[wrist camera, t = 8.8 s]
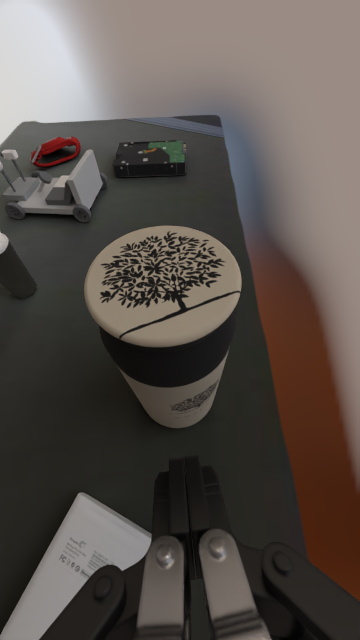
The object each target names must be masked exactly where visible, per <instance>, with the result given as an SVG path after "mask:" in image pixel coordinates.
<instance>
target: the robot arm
mask: <svg viewBox="0 0 360 640" xmlns="http://www.w3.org/2000/svg"><path fill="white" fill-rule="evenodd" d="M185 468H186V476H185ZM186 479H187V484H186ZM187 489H188V494H187ZM188 500H189V504H188ZM189 510H190V515H189ZM190 521H191V526H190ZM191 532H192V537H191ZM192 540H193V548H194V557H195V565H196V574H197V579H201V578H202V582H203V591H204V599H205V608H206V614H207V620H208V626H209V631H210V637H211V640H271V639H272V640H360V601H358V600H357V599H356V598H354V597H353V596H352V595H351V594H349V593H348V592H347V591H346V590H344V589H343V588H342V587H341V586H339V585H338V584H337V583H336V582H334V581H333V580H332V579H330V578H329V577H328V576H327V575H326V574H324V573H323V572H322V571H320V570H319V569H318V568H317V567H315V566H314V565H313V564H312V563H310V562H309V561H308V560H307V559H305V558H304V557H303V556H302V555H300V554H299V553H298V552H297V551H295V550H294V549H293V548H291V547H290V546H288V545H286V544H284V543H281V542H272V543H270V544H268V545H267V546H266V547H265V548H264V549H263V550H259V549H255V548H251V547H248V546H246V545H244V544H242V543H241V542H239V541H238V540H237V539H236V538H235V536H234V535H233V533H232V531H231V529H230V526H229V522H228V517H227V513H226V509H225V505H224V501H223V497H222V493H221V489H220V485H219V481H218V476H217V473H216V472H215V471H214V469H213V468H212V467H211V466H205V467H200V461H199V455H197V456H189V457H185V467H184V459H183V457H182V458H175V459H169V471H167V472H160V473H159V475H158V477H157V479H156V481H155V486H154V504H153V522H152V538H151V544H150V547H149V549H148V551H147V553H146V554H145V555H144V557H143V558H142V559H141V560H140V561H138V562H137V563H135V564H134V565H132V566H130V567H128V568H127V569H125V570H123V571H122V570H121V569H120V568H119V567H117V566H115V565H105V566H103V567H101V568H99V569H98V570H96V571H95V572H94V573H93V574H92V575H91V576H90V578H89V579H88V580H87V581H86V582H85V584H84V585H83V586H82V587H81V589H80V590H79V591H78V592H77V594H76V595H75V596H74V597H73V598H72V600H71V601H70V602H69V603H68V605H67V606H66V607H65V608H64V609H63V611H62V612H61V613H60V614H59V616H58V617H57V618H56V619H55V621H54V622H53V623H52V624H51V625H50V627H49V628H48V629H47V630H46V632H45V633H44V634H43V635H42V637H41V638H40V639H39V640H192V637H191V586H190V580H195V569H194V558H193V548H192Z"/></svg>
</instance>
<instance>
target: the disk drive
mask: <svg viewBox="0 0 360 640" xmlns="http://www.w3.org/2000/svg"><path fill="white" fill-rule="evenodd" d="M113 167H114V171H115V175H116V177H118V176H119V177H142V176H170V175H183V174H186V142H185V141H183V142H182V141H174V140H173V141H151V142H124V143H119V147H118V150H117V153H116V160H114V164H113Z"/></svg>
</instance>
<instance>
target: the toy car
mask: <svg viewBox="0 0 360 640" xmlns="http://www.w3.org/2000/svg"><path fill="white" fill-rule="evenodd" d="M0 155H1V156H2V157H4V158H5V159H11V160H12V161H13V163H14V165H15V167H16V168H17V170H18V172H19V174H20V176H21V177H18V178H17V179H16V180H15V181H14V182H13V184H12V183H11V182H10V180H9V178H8V177H7V175H6V173H5V172H4V170H3V166H2V163H1V161H0V172H2V173H3V175H4V176H5V178H6V180H7V181H8V183H9V185H10V187H9V188H8V189H7V190H6V191H5V193H4V194H3V196H4V198H5V199H6V200H14V201H19V202H18V203H17V204H16V203H14V202H9V203H7V204H6V206H5V210H6V212H7V213H8V214H9V215H10V216H11V217H13V218H15V219H18V220H21V219H23V218H24V217H25V213H46V214H72V215H74V217H75V218H76V219H77V220H79V221H81V222H88V221H90V219H91V216H92V215H91V212H90V208H91V206H92V204H93V202H94V200H95V198H96V196H97V194H98V192H99V190H100V189H105V188H106V187H107V185H108V179H107V177H106V175H105V174H103V173H101V172H99V170H98V166H97V163H96V160H95V156H94V153H93V150H87V151H86V152H85V154H84V155H83V157H82V158H81V160H80V161H79V163H78V164H77V166H76V167H75V169H74V170H73V172H72V173H71V175H70V176H61V177H60V178H52V177H51V176H50V175H49V174H48V173H46V172H44V171H39V170H36V171H34V172H33V174H32V178H29V177H24V176H23V175H22V173H21V171H20V169H19V167H18V165H17V164H16V162H15V160H14V159H17V158H18V157H19V156H18V154H17V153H16V151H15V150H4V151H3V152H0Z"/></svg>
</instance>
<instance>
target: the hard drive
mask: <svg viewBox="0 0 360 640" xmlns="http://www.w3.org/2000/svg"><path fill="white" fill-rule="evenodd" d="M151 538H152V534H151V533H149V532H148V531H146V530H144V529H143V528H141V527H140V526H138V525H136V524H135V523H133V522H132V521H130V520H128V519H127V518H125V517H123V516H122V515H120V514H118V513H117V512H115V511H114V510H112V509H110V508H109V507H107V506H106V505H104V504H102V503H101V502H99V501H97V500H96V499H94V498H92V497H91V496H89V495H87V494H85V493H78V495H77V497H76V499H75V501H74V502H73V504H72V506H71V508H70V510H69V511H68V513H67V515H66V517H65V519H64V520H63V522H62V524H61V526H60V528H59V529H58V531H57V533H56V535H55V537H54V538H53V540H52V542H51V544H50V546H49V547H48V549H47V551H46V553H45V555H44V556H43V558H42V560H41V562H40V564H39V566H38V567H37V569H36V571H35V573H34V575H33V576H32V578H31V580H30V582H29V584H28V585H27V587H26V589H25V591H24V593H23V594H22V596H21V598H20V600H19V602H18V604H17V605H16V607H15V609H14V611H13V613H12V614H11V616H10V618H9V620H8V622H7V624H6V625H5V627H4V629H3V631H2V633H1V634H0V640H39V639H40V638H41V637H42V635H43V634H44V633H45V632H46V630H47V629H48V628H49V627H50V625H51V624H52V623H53V622H54V621H55V619H56V618H57V617H58V616H59V614H60V613H61V612H62V611H63V609H64V608H65V607H66V606H67V605H68V603H69V602H70V601H71V600H72V598H73V597H74V596H75V595H76V594H77V592H78V591H79V590H80V589H81V587H82V586H83V585H84V584H85V582H86V581H87V580H88V579H89V578H90V576H91V575H92V574H93V573H94V572H95V571H96V570H98V569H99V568H101V567H103V566H105V565H115V566H117V567H119V568H120V569H121V570H122V571H123V570H125V569H127V568H128V567H130V566H132V565H134V564H135V563H137V562H138V561H140V560H141V559H142V558H143V557H144V555H145V554H146V553H147V551H148V549H149V547H150V544H151Z"/></svg>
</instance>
